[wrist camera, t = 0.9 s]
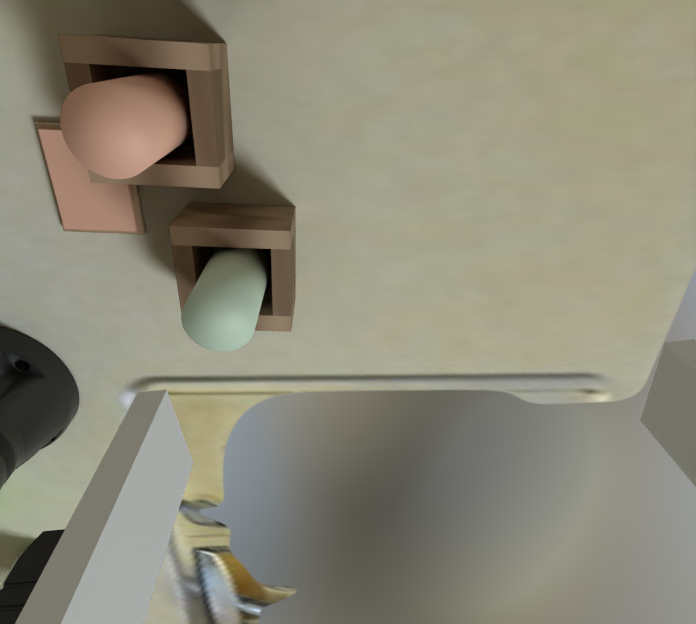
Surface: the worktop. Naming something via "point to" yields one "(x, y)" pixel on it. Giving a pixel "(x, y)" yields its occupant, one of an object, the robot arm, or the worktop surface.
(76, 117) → the pink rounded cylinder
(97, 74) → the brown housing
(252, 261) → the sage plunger
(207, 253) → the square brown wooden frame
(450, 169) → the worktop surface
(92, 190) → the tile
